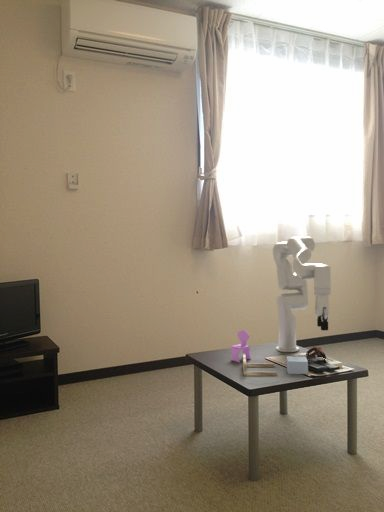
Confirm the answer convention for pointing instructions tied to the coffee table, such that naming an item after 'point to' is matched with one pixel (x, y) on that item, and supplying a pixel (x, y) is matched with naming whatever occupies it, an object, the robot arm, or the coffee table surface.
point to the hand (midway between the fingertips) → (322, 328)
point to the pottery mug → (315, 353)
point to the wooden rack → (257, 366)
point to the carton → (297, 365)
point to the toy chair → (241, 346)
